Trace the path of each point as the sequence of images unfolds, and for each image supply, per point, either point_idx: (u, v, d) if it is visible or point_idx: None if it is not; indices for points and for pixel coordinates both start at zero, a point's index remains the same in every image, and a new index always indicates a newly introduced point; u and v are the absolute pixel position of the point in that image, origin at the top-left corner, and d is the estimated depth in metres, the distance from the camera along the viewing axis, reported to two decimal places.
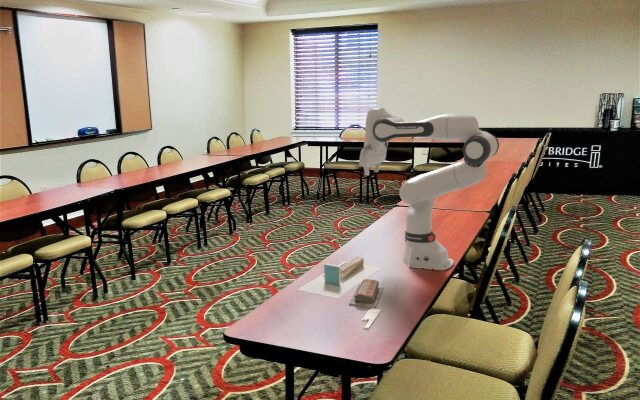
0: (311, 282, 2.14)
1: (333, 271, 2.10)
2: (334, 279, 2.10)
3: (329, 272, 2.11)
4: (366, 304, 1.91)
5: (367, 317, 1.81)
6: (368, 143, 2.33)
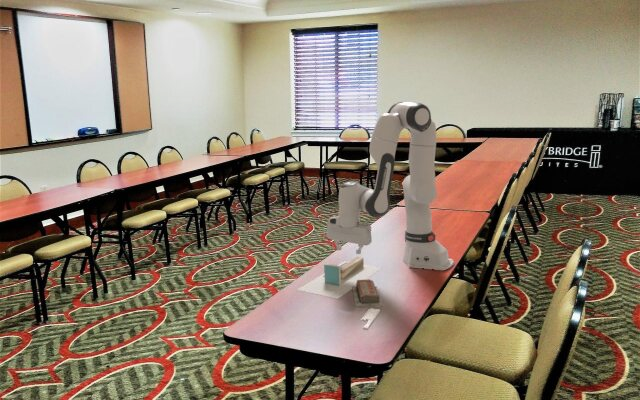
0: (311, 282, 2.14)
1: (333, 271, 2.10)
2: (334, 279, 2.10)
3: (329, 272, 2.11)
4: (372, 304, 1.91)
5: (366, 317, 1.81)
6: (357, 220, 2.16)
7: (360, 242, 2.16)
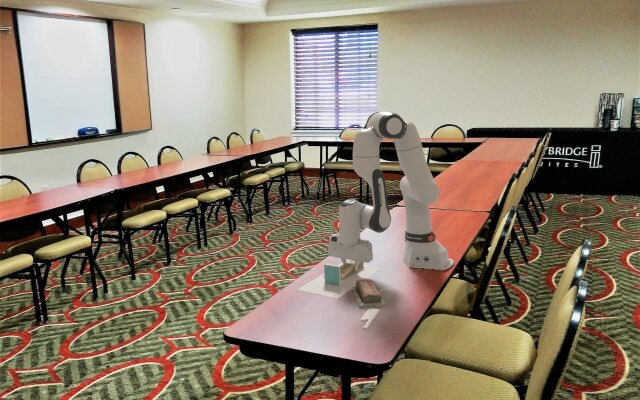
0: (311, 282, 2.14)
1: (333, 271, 2.10)
2: (334, 279, 2.10)
3: (329, 272, 2.11)
4: (375, 303, 1.91)
5: (366, 317, 1.81)
6: (358, 238, 2.18)
7: (361, 259, 2.18)
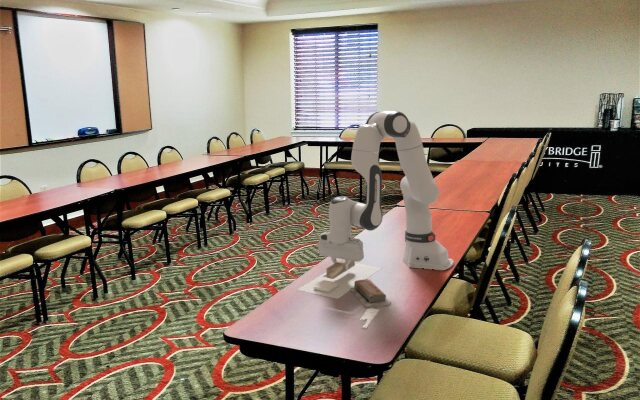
0: (311, 282, 2.14)
1: None
2: None
3: None
4: (381, 302, 1.91)
5: (365, 317, 1.81)
6: (348, 236, 2.11)
7: (352, 258, 2.11)
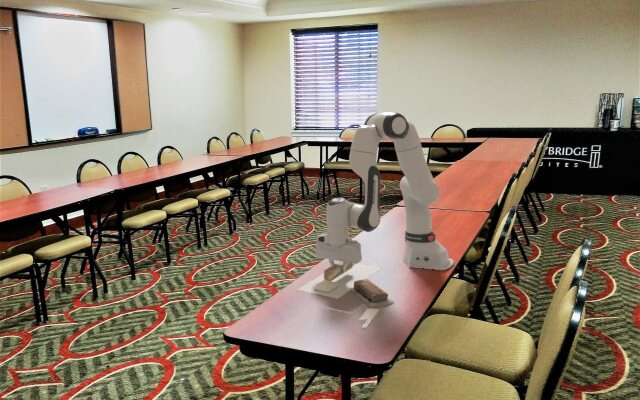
0: (311, 282, 2.14)
1: None
2: None
3: None
4: (384, 302, 1.92)
5: (365, 317, 1.81)
6: (346, 238, 2.09)
7: (350, 260, 2.09)
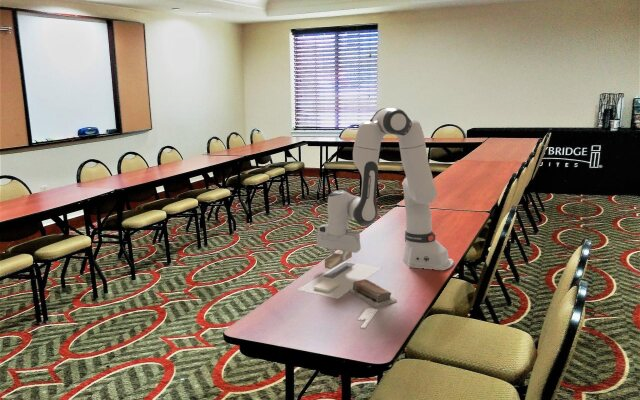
0: (311, 282, 2.14)
1: None
2: None
3: None
4: (387, 300, 1.93)
5: (364, 317, 1.81)
6: (346, 228, 2.20)
7: (349, 249, 2.20)
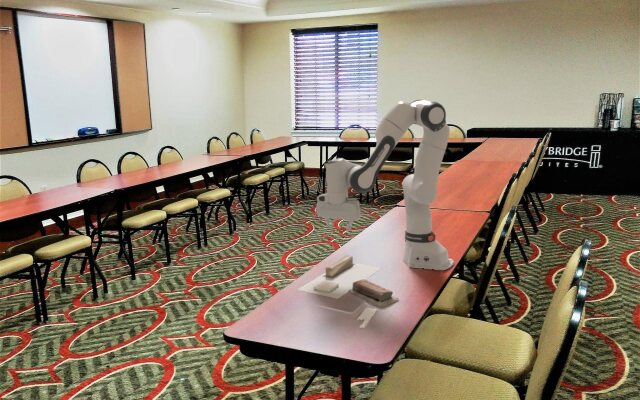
0: (311, 282, 2.14)
1: None
2: None
3: None
4: (390, 300, 1.93)
5: (363, 316, 1.81)
6: (345, 196, 2.17)
7: (349, 218, 2.17)
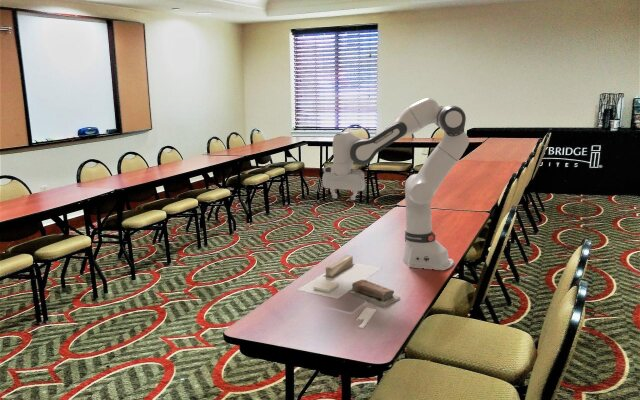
0: (311, 282, 2.14)
1: None
2: None
3: None
4: (392, 299, 1.94)
5: (362, 316, 1.81)
6: (351, 168, 2.28)
7: (354, 188, 2.28)
